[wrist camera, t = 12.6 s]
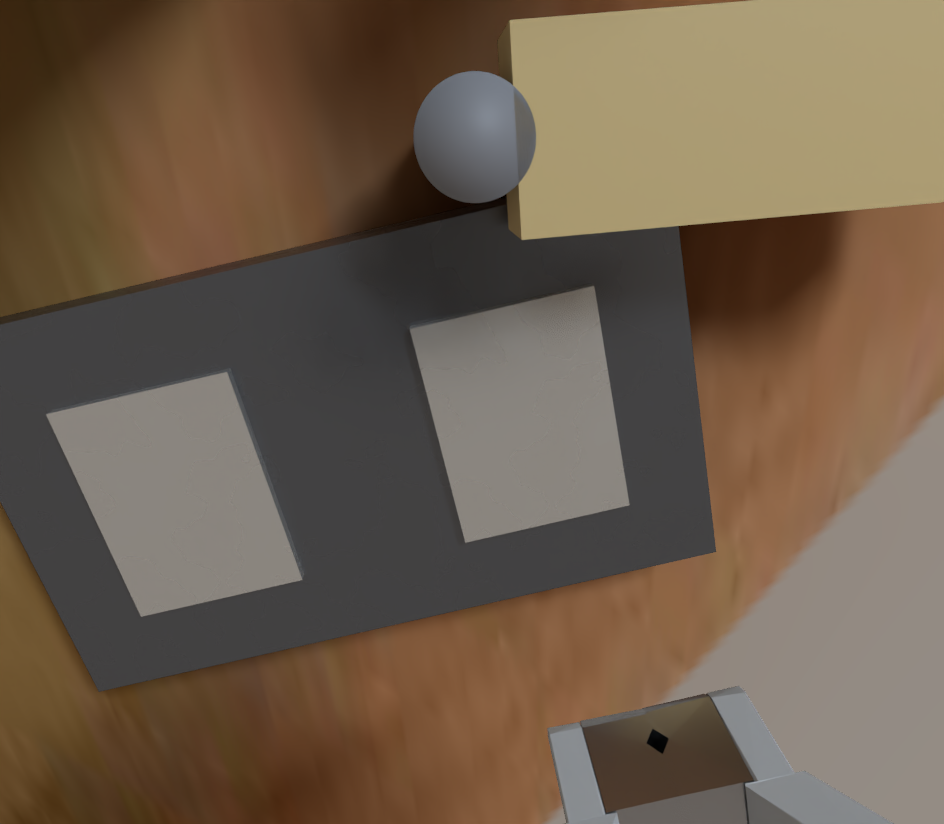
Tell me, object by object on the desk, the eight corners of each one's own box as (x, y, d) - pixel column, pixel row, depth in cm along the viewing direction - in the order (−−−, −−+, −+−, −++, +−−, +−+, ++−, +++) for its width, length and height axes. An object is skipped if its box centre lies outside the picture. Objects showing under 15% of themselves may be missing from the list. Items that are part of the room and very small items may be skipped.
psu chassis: (-68, 231, 23) (-148, 243, 20) (630, 64, 23) (664, 48, 20) (130, 640, 29) (93, 701, 26) (688, 513, 29) (721, 559, 26)
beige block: (424, 236, 21) (424, 248, 18) (405, 48, 19) (401, 28, 16) (999, 185, 21) (1087, 188, 18) (1031, -3, 19) (1134, -31, 17)
